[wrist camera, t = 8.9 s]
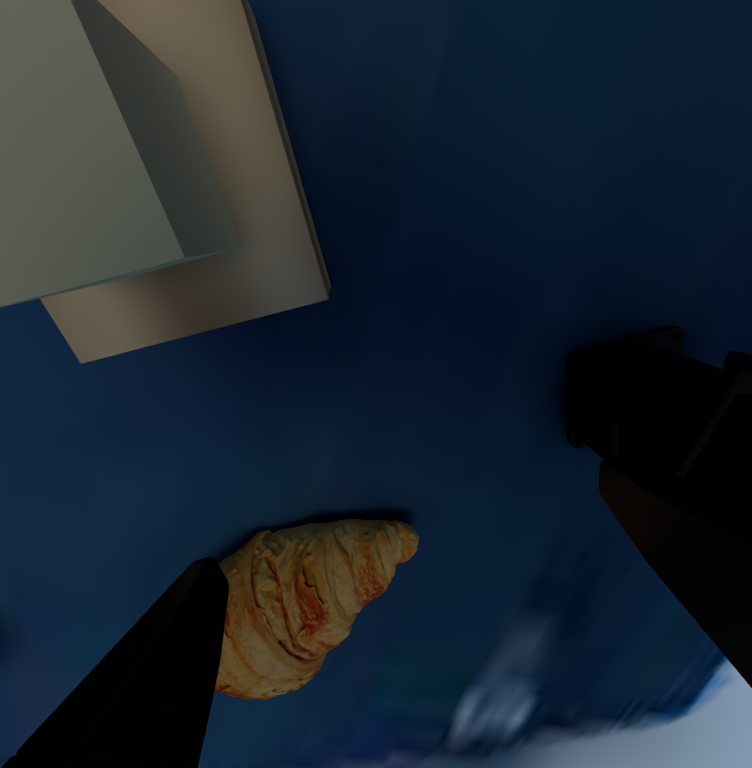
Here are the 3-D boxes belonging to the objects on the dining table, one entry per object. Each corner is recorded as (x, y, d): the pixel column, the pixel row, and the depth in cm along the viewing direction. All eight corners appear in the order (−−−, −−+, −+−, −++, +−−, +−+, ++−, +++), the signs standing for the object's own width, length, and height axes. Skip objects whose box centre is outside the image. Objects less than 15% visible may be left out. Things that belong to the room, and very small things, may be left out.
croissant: (383, 453, 26) (364, 481, 18) (454, 577, 25) (467, 663, 17) (158, 581, 28) (54, 656, 20) (216, 698, 27) (131, 823, 20)
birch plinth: (255, 18, 13) (222, -63, 10) (330, 284, 17) (328, 299, 14) (-1, 87, 13) (-129, 33, 10) (135, 335, 17) (81, 363, 14)
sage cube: (176, 74, 11) (51, -43, 6) (240, 247, 13) (184, 257, 8) (17, 117, 11) (-226, 33, 6) (107, 282, 13) (-23, 312, 8)
